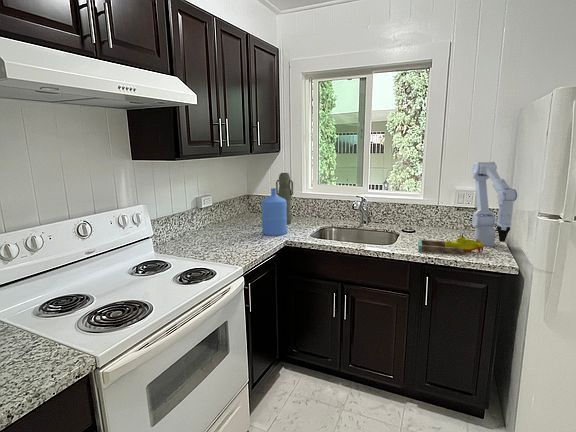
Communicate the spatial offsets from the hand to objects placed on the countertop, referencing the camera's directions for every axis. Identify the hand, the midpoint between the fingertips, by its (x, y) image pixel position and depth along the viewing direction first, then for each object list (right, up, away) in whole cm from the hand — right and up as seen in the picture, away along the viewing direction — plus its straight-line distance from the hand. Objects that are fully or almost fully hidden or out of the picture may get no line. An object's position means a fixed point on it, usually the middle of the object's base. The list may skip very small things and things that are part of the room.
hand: (501, 241), depth 172 cm
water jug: (-113, +2, +49) cm, 123 cm away
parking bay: (-25, -5, +10) cm, 28 cm away
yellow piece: (-16, -6, +7) cm, 18 cm away
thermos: (-106, +7, +74) cm, 130 cm away
